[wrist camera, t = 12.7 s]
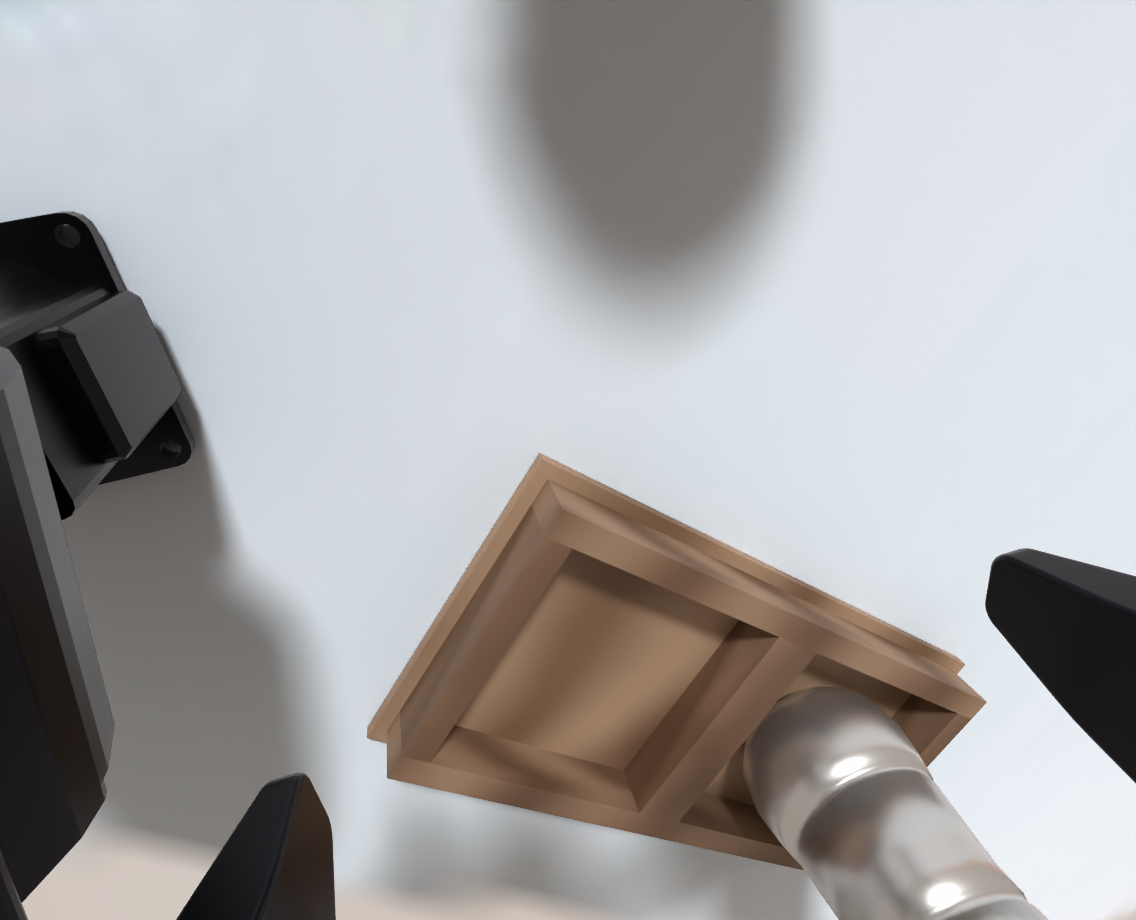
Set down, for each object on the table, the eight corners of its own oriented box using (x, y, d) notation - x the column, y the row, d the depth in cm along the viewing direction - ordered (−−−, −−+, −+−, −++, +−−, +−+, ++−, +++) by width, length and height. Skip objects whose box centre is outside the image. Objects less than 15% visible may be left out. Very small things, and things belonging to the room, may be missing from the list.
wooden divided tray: (367, 727, 24) (365, 785, 22) (539, 453, 21) (557, 488, 19) (798, 835, 33) (827, 883, 31) (957, 657, 31) (1001, 696, 28)
